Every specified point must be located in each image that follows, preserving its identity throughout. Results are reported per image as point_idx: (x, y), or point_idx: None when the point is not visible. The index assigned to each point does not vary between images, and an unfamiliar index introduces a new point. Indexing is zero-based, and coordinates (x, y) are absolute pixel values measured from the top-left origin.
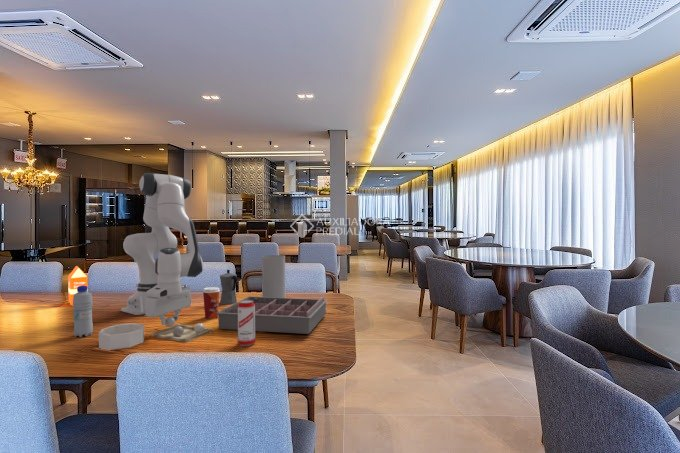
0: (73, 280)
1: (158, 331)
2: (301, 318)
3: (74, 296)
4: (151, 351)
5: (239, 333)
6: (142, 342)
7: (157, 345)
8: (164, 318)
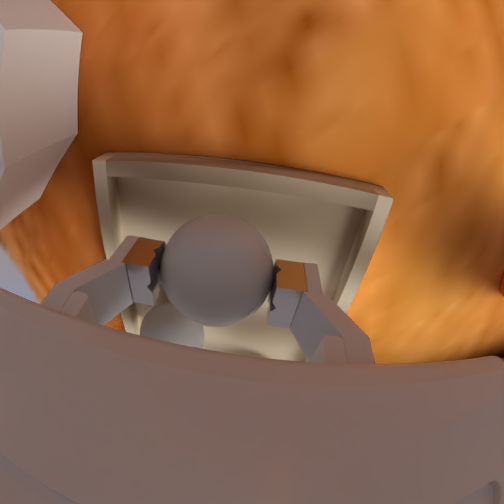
0: None
1: (154, 170)
2: None
3: None
4: (36, 292)
5: None
6: (33, 201)
7: (67, 276)
8: (106, 318)
